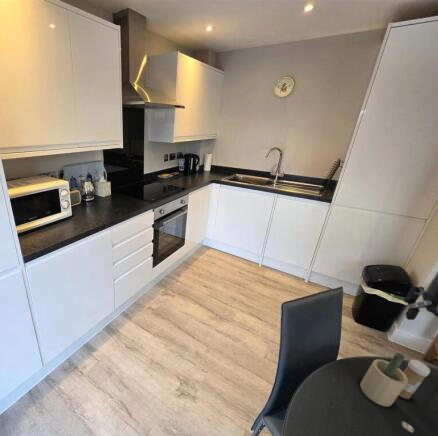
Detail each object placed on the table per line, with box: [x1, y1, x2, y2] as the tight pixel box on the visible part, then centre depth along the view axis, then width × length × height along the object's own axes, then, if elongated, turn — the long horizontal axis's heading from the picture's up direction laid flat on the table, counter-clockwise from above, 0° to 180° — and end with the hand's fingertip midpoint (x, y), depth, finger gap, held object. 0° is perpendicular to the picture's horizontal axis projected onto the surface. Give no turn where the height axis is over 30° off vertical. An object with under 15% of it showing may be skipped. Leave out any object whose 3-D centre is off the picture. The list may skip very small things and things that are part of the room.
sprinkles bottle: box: [398, 359, 431, 400], centre depth 80 cm, size 5×5×13 cm
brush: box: [383, 352, 405, 378], centre depth 78 cm, size 4×4×18 cm
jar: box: [359, 358, 408, 407], centre depth 80 cm, size 8×8×11 cm
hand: (424, 330), depth 70 cm, fingers open, 8 cm apart
